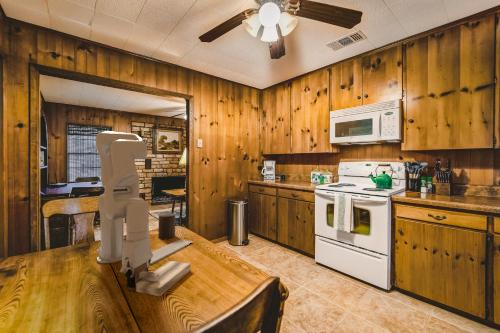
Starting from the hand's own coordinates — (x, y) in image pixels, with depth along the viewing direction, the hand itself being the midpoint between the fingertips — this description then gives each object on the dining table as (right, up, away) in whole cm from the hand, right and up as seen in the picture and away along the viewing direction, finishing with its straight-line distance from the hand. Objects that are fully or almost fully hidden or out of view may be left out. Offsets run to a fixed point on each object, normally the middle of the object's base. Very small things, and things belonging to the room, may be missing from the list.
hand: (137, 281), depth 88 cm
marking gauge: (+3, -2, -1) cm, 4 cm away
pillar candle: (-9, 0, +57) cm, 58 cm away
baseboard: (-2, -2, +35) cm, 35 cm away
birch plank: (+9, -2, +5) cm, 10 cm away
